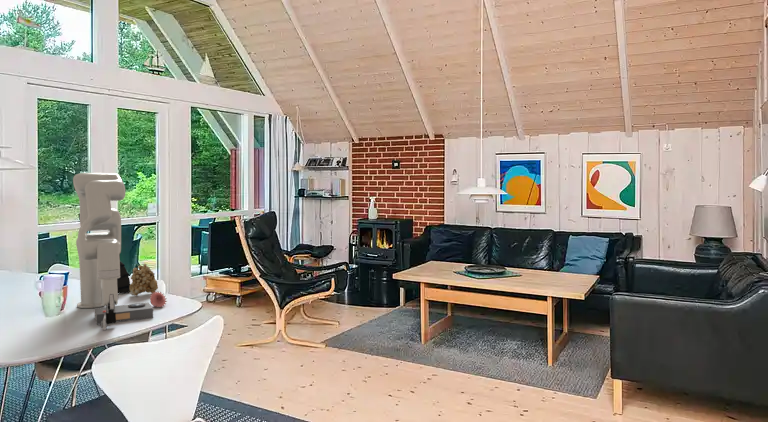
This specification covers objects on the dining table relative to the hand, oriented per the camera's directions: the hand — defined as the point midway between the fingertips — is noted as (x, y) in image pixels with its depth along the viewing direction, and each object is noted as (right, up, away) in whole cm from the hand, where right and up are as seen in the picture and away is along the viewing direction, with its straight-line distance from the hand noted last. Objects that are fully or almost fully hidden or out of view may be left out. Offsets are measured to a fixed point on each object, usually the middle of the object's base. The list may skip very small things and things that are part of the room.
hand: (111, 323), depth 211 cm
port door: (-2, -1, 0) cm, 3 cm away
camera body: (-2, -1, +14) cm, 14 cm away
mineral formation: (-12, +2, +58) cm, 59 cm away
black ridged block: (-27, +2, +62) cm, 68 cm away
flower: (+4, 0, +34) cm, 34 cm away
